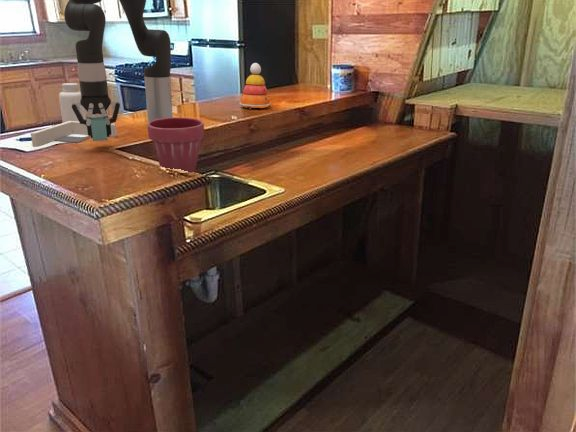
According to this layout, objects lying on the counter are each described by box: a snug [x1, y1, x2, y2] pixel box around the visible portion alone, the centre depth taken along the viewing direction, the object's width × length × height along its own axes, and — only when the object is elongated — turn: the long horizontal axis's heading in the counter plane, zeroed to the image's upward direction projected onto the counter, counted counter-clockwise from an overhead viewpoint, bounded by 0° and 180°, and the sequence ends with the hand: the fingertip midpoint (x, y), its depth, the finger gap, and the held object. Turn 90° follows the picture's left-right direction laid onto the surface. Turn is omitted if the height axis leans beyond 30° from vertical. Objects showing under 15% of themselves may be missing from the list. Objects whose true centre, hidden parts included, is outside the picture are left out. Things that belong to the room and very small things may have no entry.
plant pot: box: [147, 116, 205, 173], centre depth 132 cm, size 14×14×13 cm
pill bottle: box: [58, 82, 87, 123], centre depth 178 cm, size 8×8×15 cm
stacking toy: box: [239, 62, 272, 107], centre depth 224 cm, size 14×14×20 cm
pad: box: [53, 135, 90, 144], centre depth 162 cm, size 6×8×1 cm
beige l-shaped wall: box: [30, 121, 118, 147], centre depth 160 cm, size 20×17×4 cm
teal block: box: [91, 115, 108, 142], centre depth 150 cm, size 7×4×6 cm, turn 19°
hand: (100, 136), depth 151 cm, fingers closed on teal block, 4 cm apart
